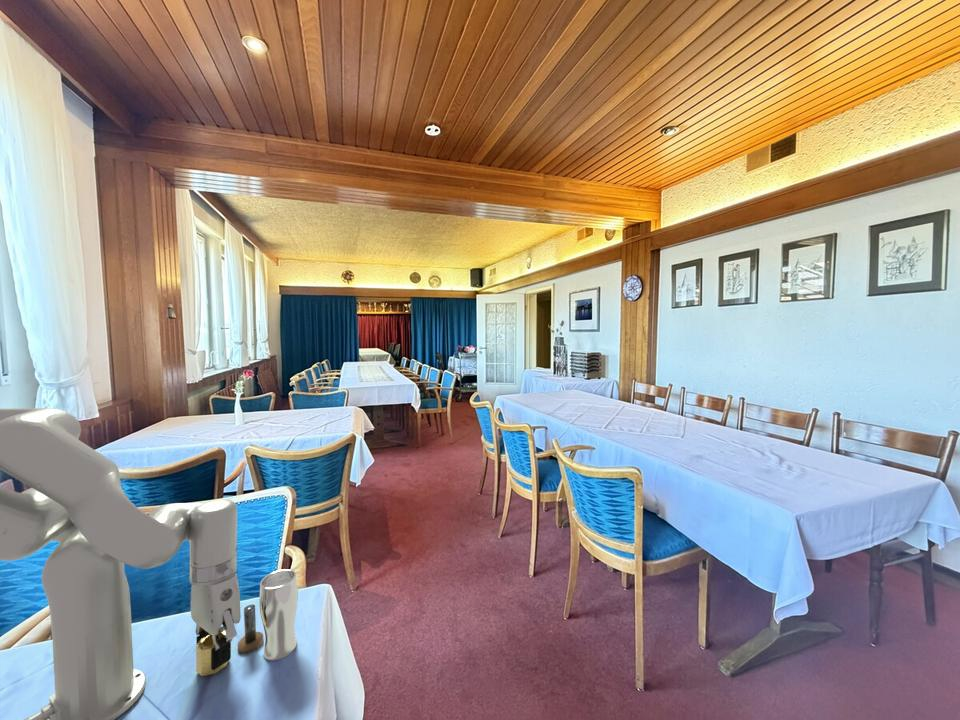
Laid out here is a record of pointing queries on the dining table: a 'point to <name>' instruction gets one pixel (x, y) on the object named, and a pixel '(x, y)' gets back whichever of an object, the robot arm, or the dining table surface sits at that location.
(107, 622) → the robot arm
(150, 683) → the dining table surface
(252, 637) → the stand
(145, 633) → the dining table surface
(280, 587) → the silver metal vase
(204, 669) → the brass ring
